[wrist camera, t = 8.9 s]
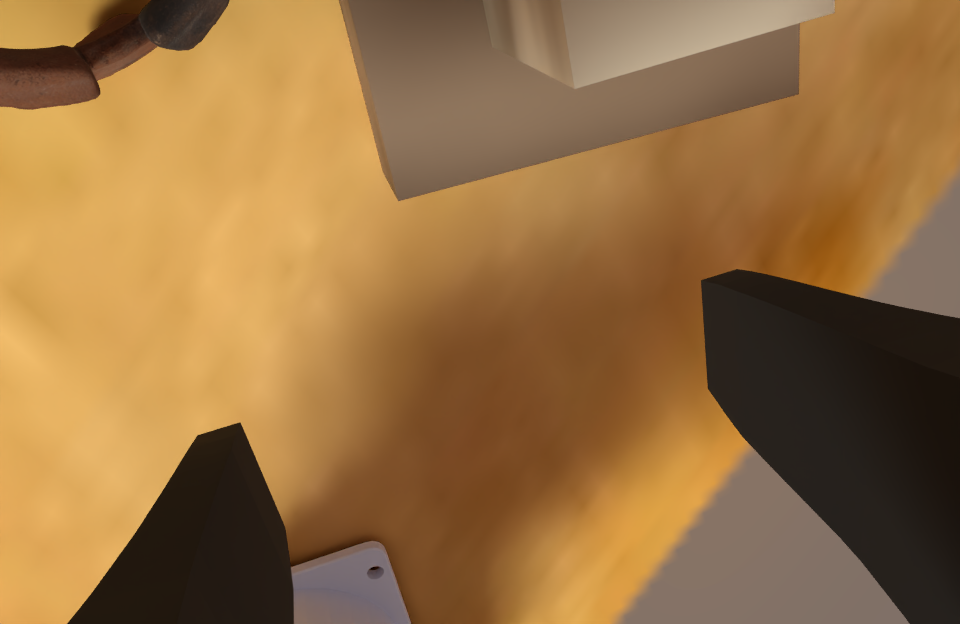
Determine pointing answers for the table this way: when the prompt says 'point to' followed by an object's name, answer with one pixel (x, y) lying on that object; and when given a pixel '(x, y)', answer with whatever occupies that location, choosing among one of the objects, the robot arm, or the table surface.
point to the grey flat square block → (527, 93)
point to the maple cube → (630, 31)
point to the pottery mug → (102, 53)
